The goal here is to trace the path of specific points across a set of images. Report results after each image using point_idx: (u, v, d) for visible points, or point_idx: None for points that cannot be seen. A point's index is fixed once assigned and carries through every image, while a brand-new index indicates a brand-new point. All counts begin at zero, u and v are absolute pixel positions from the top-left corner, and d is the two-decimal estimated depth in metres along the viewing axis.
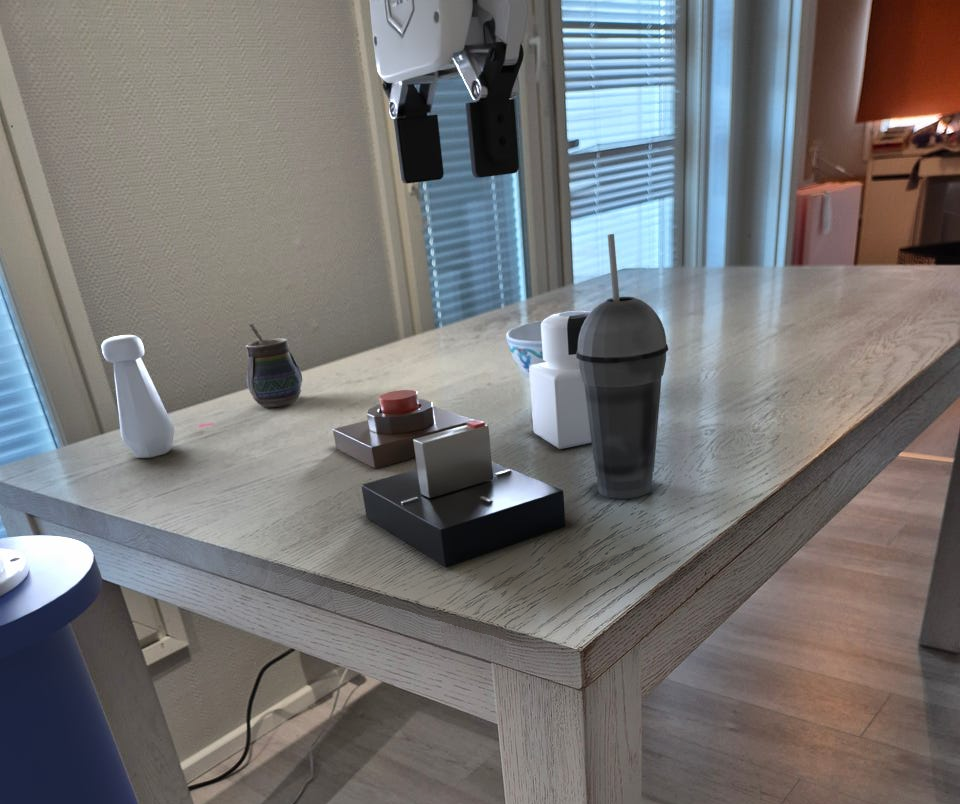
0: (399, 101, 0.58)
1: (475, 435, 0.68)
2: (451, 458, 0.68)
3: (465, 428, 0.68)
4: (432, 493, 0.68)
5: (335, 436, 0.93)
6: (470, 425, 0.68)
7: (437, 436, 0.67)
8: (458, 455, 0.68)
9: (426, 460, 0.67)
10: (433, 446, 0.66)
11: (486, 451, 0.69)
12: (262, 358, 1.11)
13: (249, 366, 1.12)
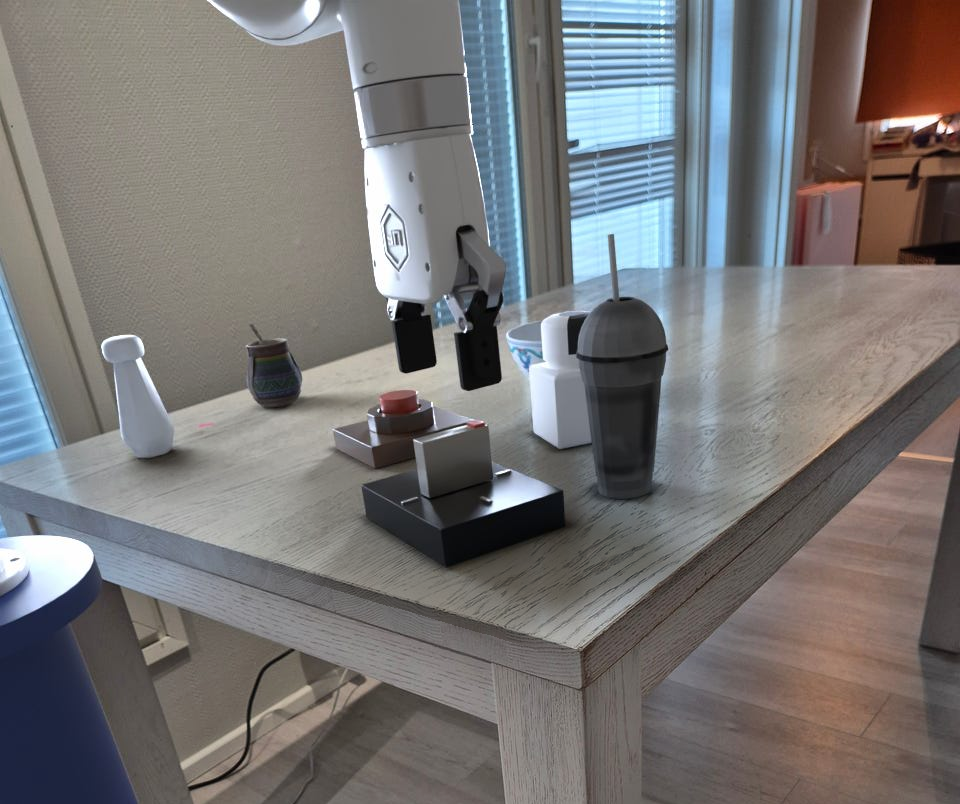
0: (396, 308, 0.66)
1: (475, 435, 0.68)
2: (451, 458, 0.68)
3: (465, 428, 0.68)
4: (432, 493, 0.68)
5: (335, 436, 0.93)
6: (470, 425, 0.68)
7: (437, 436, 0.67)
8: (458, 455, 0.68)
9: (426, 460, 0.67)
10: (433, 446, 0.66)
11: (486, 451, 0.69)
12: (262, 358, 1.11)
13: (249, 366, 1.12)
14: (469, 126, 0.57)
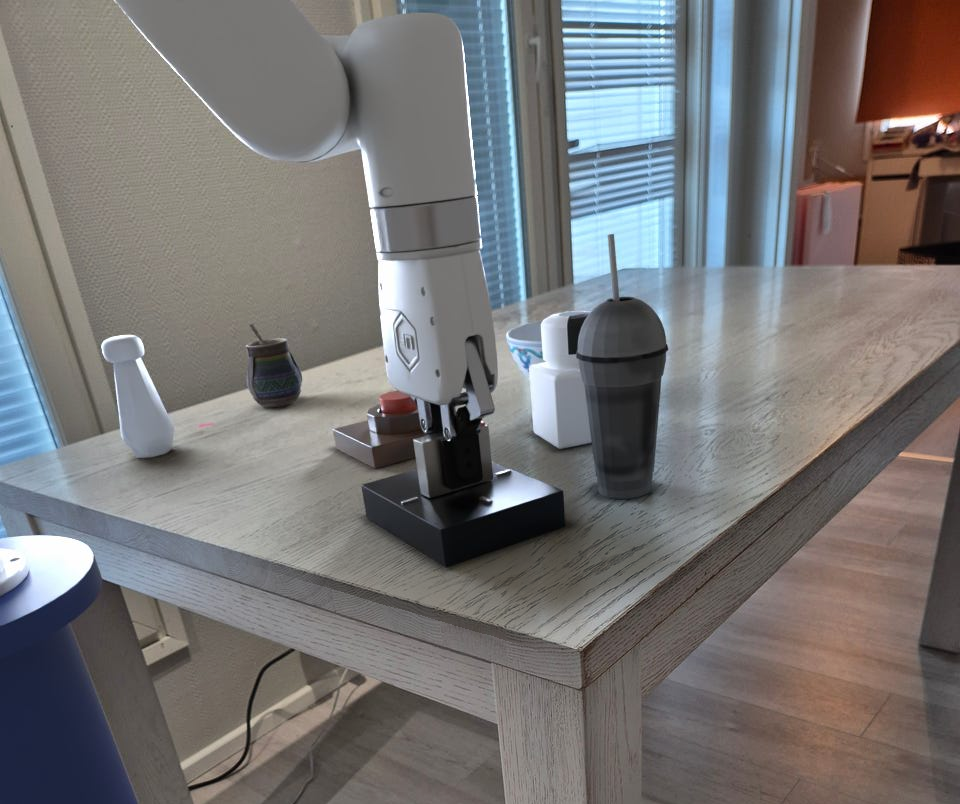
0: (426, 413, 0.67)
1: None
2: None
3: None
4: (432, 493, 0.68)
5: (335, 436, 0.93)
6: None
7: (437, 436, 0.67)
8: None
9: (426, 460, 0.67)
10: (433, 446, 0.66)
11: (486, 451, 0.69)
12: (262, 358, 1.11)
13: (249, 366, 1.12)
14: (478, 242, 0.60)
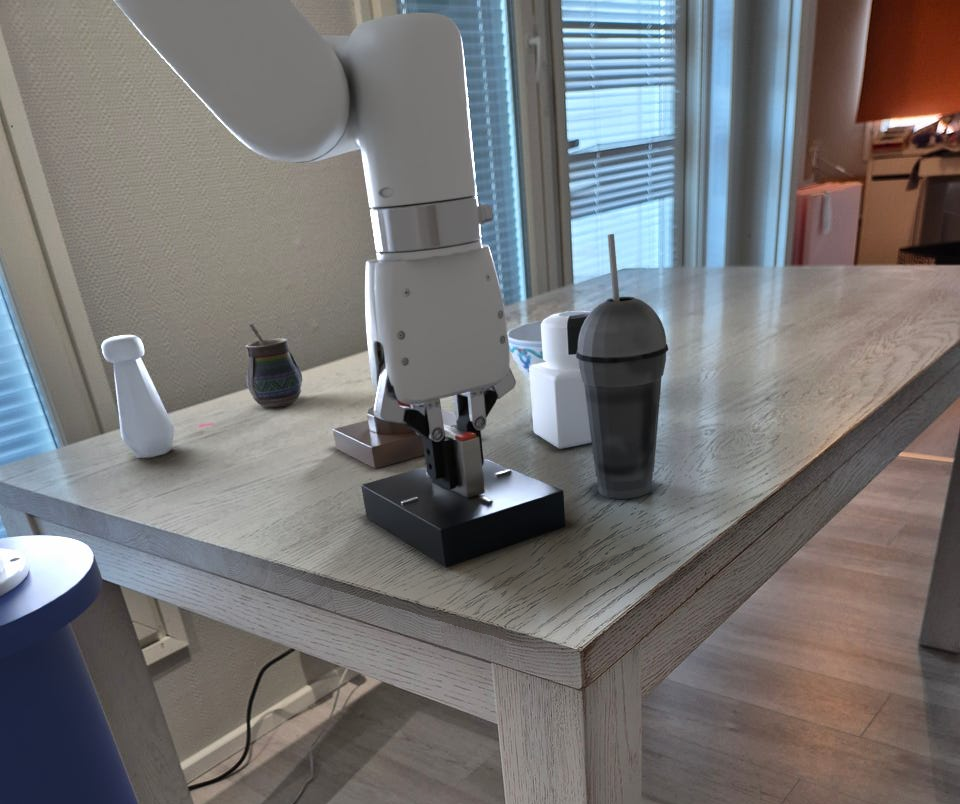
0: (455, 406, 0.68)
1: (453, 445, 0.66)
2: None
3: (458, 435, 0.67)
4: None
5: (335, 436, 0.93)
6: None
7: None
8: None
9: None
10: None
11: (461, 466, 0.66)
12: (262, 358, 1.11)
13: (249, 366, 1.12)
14: (410, 253, 0.58)
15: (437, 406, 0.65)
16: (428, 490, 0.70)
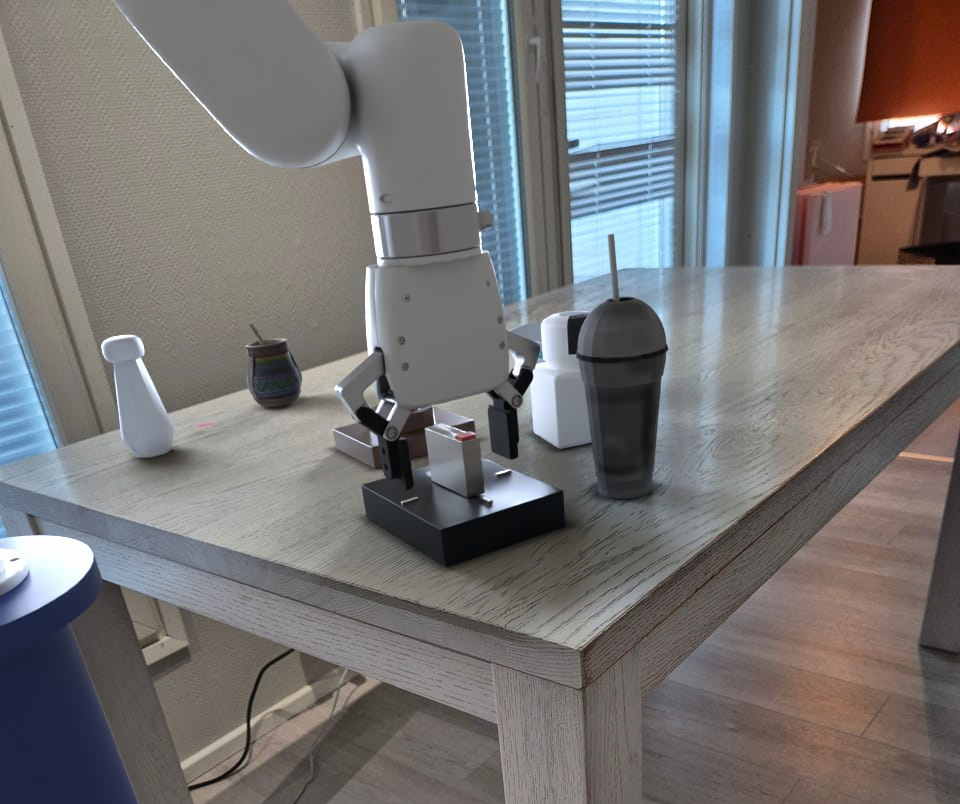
0: (487, 394, 0.70)
1: (453, 445, 0.66)
2: (440, 454, 0.69)
3: (458, 435, 0.67)
4: (432, 477, 0.71)
5: (335, 436, 0.93)
6: None
7: (439, 429, 0.69)
8: (444, 456, 0.68)
9: (427, 444, 0.70)
10: (430, 435, 0.69)
11: (461, 466, 0.66)
12: (262, 358, 1.11)
13: (249, 366, 1.12)
14: (410, 259, 0.58)
15: (407, 409, 0.64)
16: (428, 490, 0.70)
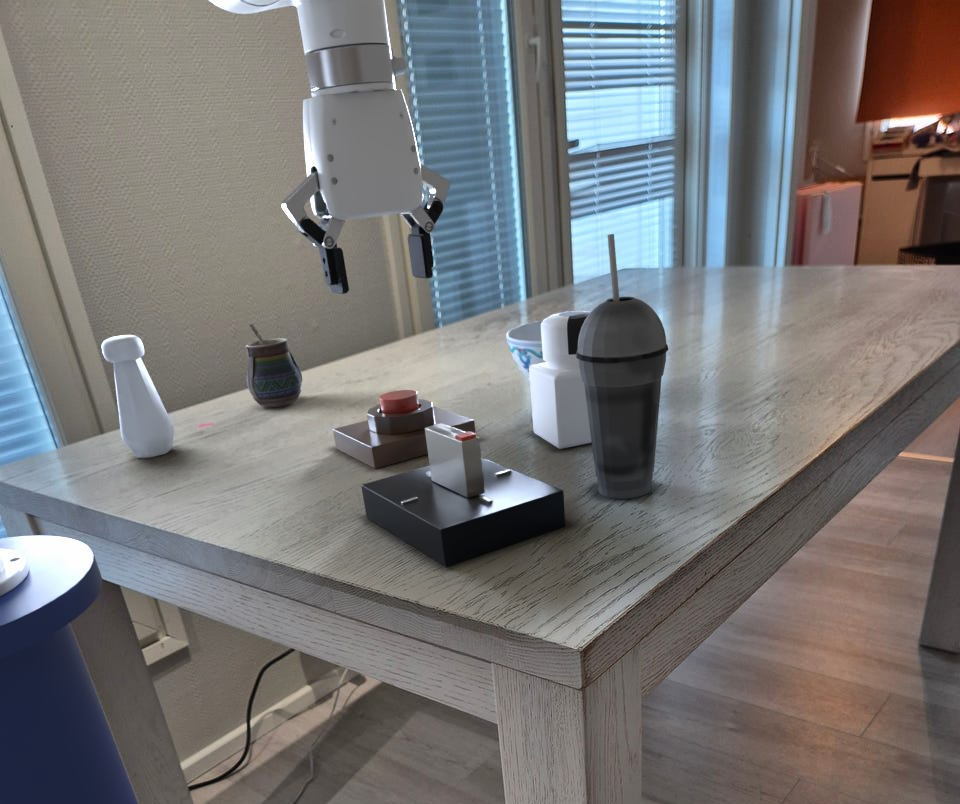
0: (407, 223, 0.85)
1: (453, 445, 0.66)
2: (440, 454, 0.69)
3: (458, 435, 0.67)
4: (432, 477, 0.71)
5: (335, 436, 0.93)
6: None
7: (439, 429, 0.69)
8: (444, 456, 0.68)
9: (427, 444, 0.70)
10: (430, 435, 0.69)
11: (461, 466, 0.66)
12: (262, 358, 1.11)
13: (249, 366, 1.12)
14: (335, 87, 0.74)
15: (340, 222, 0.79)
16: (428, 490, 0.70)
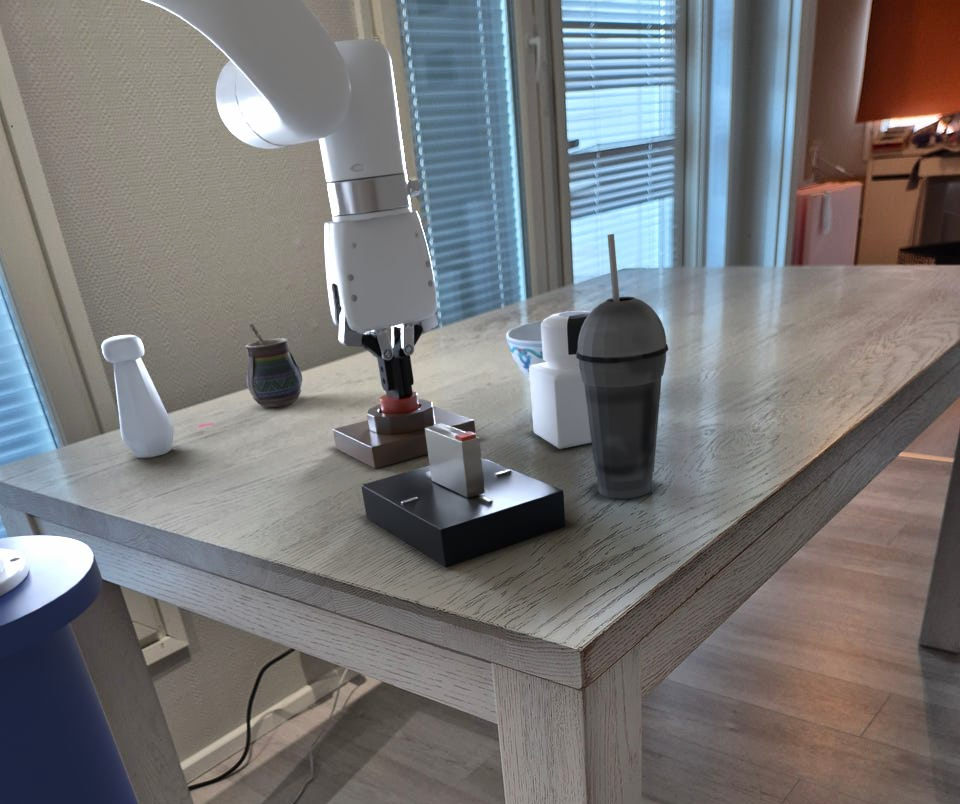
0: (392, 337, 0.89)
1: (453, 445, 0.66)
2: (440, 454, 0.69)
3: (458, 435, 0.67)
4: (432, 477, 0.71)
5: (335, 436, 0.93)
6: None
7: (439, 429, 0.69)
8: (444, 456, 0.68)
9: (427, 444, 0.70)
10: (430, 435, 0.69)
11: (461, 466, 0.66)
12: (262, 358, 1.11)
13: (249, 366, 1.12)
14: (355, 215, 0.79)
15: (384, 332, 0.85)
16: (428, 490, 0.70)
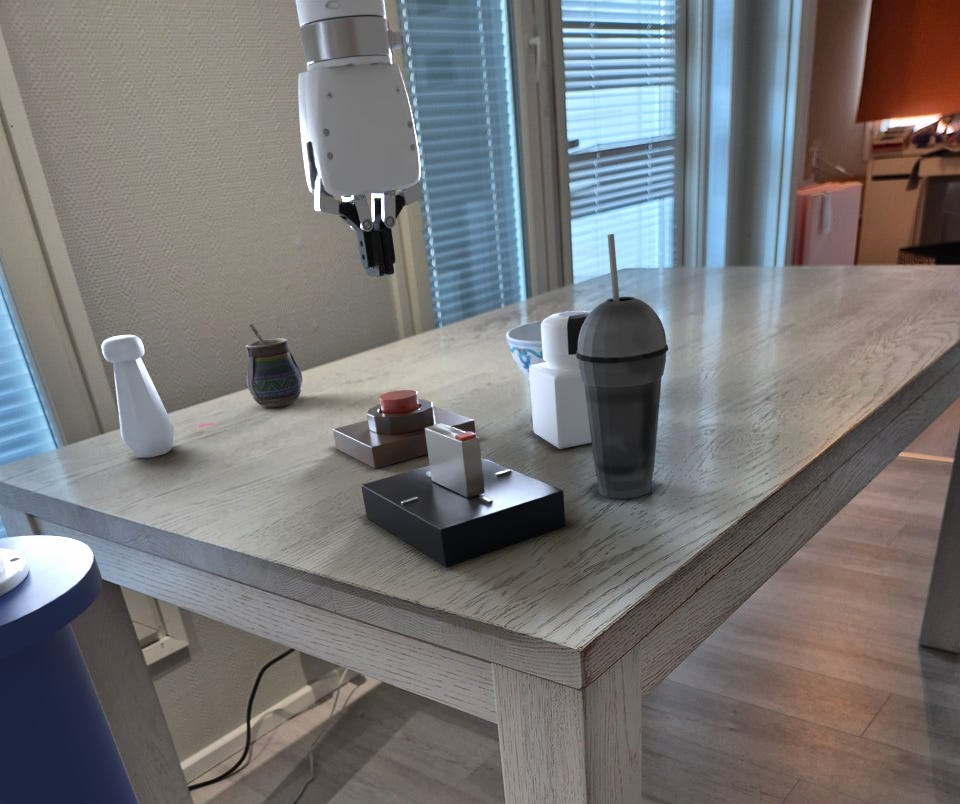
0: (372, 210, 0.83)
1: (453, 445, 0.66)
2: (440, 454, 0.69)
3: (458, 435, 0.67)
4: (432, 477, 0.71)
5: (335, 436, 0.93)
6: None
7: (439, 429, 0.69)
8: (444, 456, 0.68)
9: (427, 444, 0.70)
10: (430, 435, 0.69)
11: (461, 466, 0.66)
12: (262, 358, 1.11)
13: (249, 366, 1.12)
14: (331, 60, 0.73)
15: (363, 199, 0.80)
16: (428, 490, 0.70)
